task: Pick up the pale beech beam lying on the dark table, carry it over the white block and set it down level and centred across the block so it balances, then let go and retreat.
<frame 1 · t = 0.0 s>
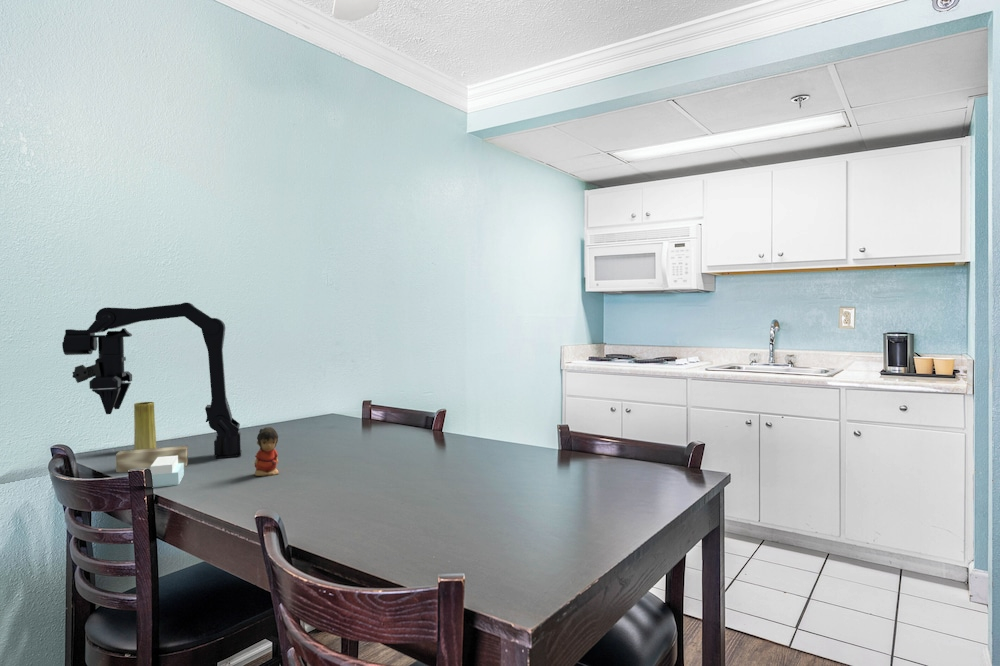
hand: (112, 411, 159), 15 cm above the table, fingers open, 9 cm apart
figurine: (266, 474, 150), on the table
beam: (153, 468, 157), on the table
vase: (145, 450, 178), on the table
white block: (165, 480, 144), on the table
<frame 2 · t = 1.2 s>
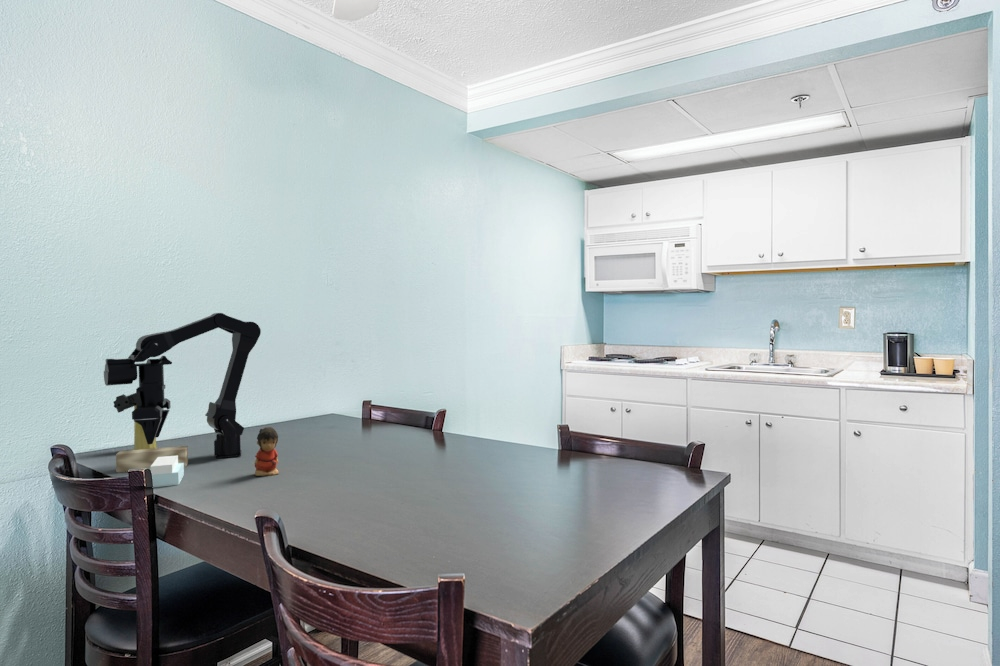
hand: (153, 440, 157), 7 cm above the table, fingers open, 9 cm apart
nothing on the table moved.
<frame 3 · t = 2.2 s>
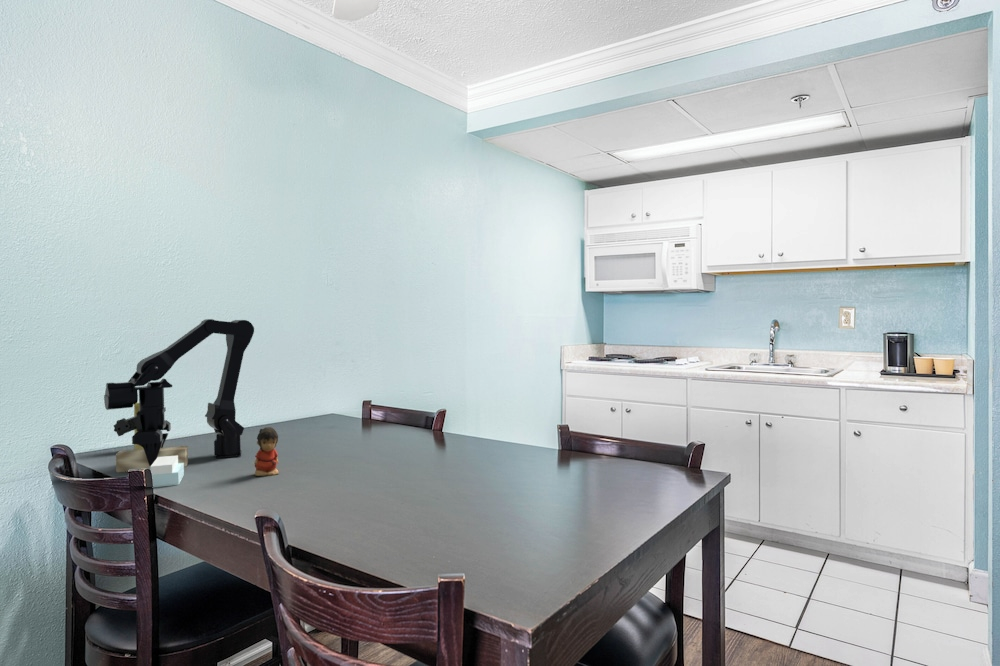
hand: (153, 463, 157), 1 cm above the table, fingers closed on beam, 4 cm apart
beam: (153, 468, 157), on the table, touching gripper
everything else where it was.
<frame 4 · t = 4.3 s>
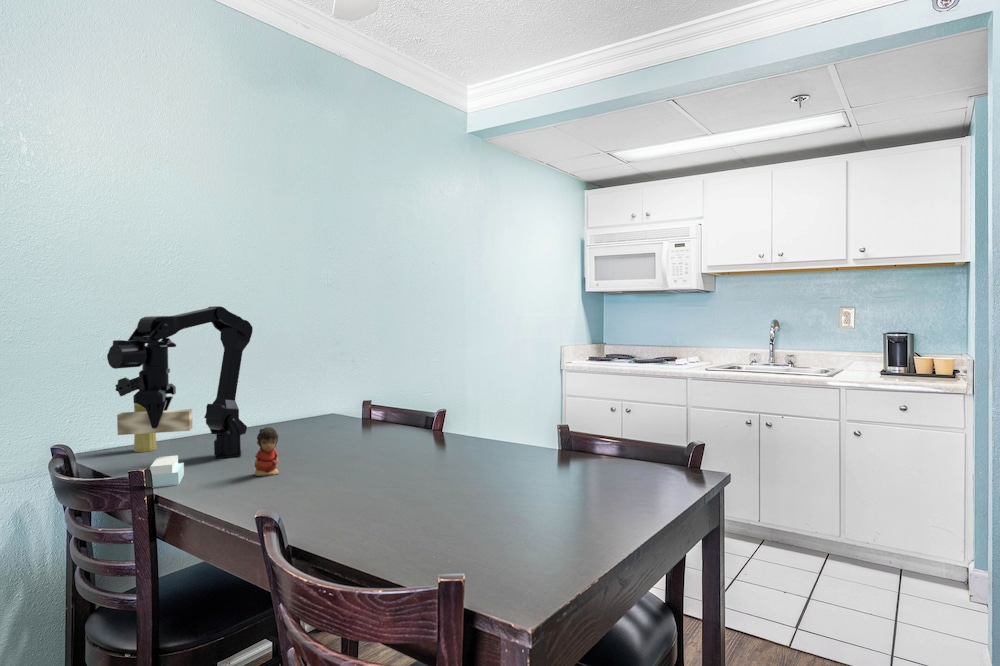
hand: (156, 426, 150), 12 cm above the table, fingers closed on beam, 4 cm apart
beam: (156, 431, 150), point 11 cm above the table, touching gripper
everything else where it was.
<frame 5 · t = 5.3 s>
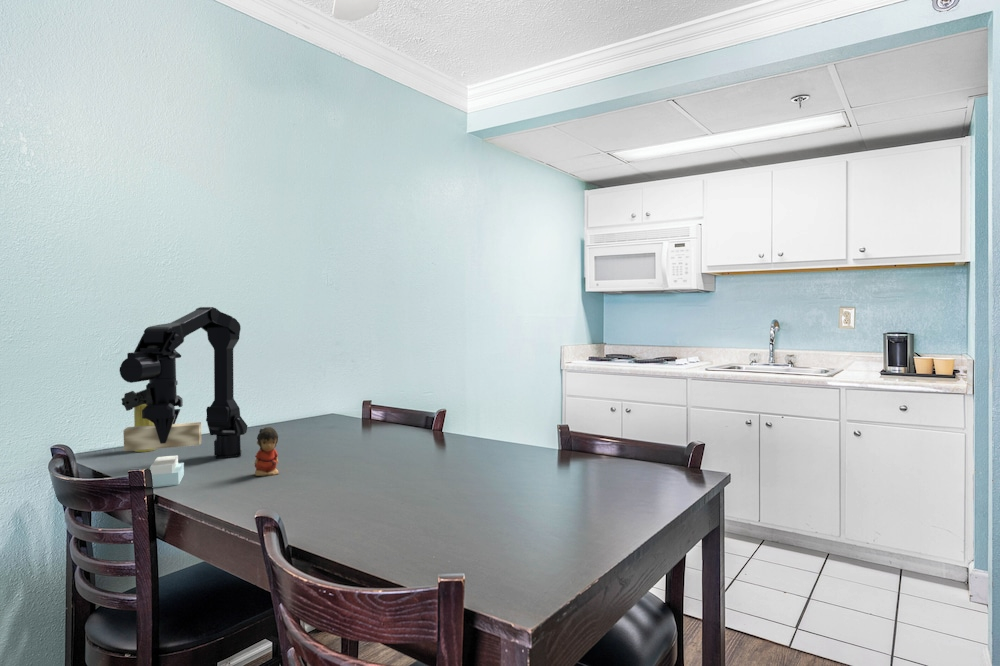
hand: (164, 441, 144), 10 cm above the table, fingers closed on beam, 4 cm apart
beam: (164, 446, 144), point 9 cm above the table, touching gripper
everything else where it was.
when the fingers open (7 cm above the table, at t = 6.0 s): beam stays where it is, resting on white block.
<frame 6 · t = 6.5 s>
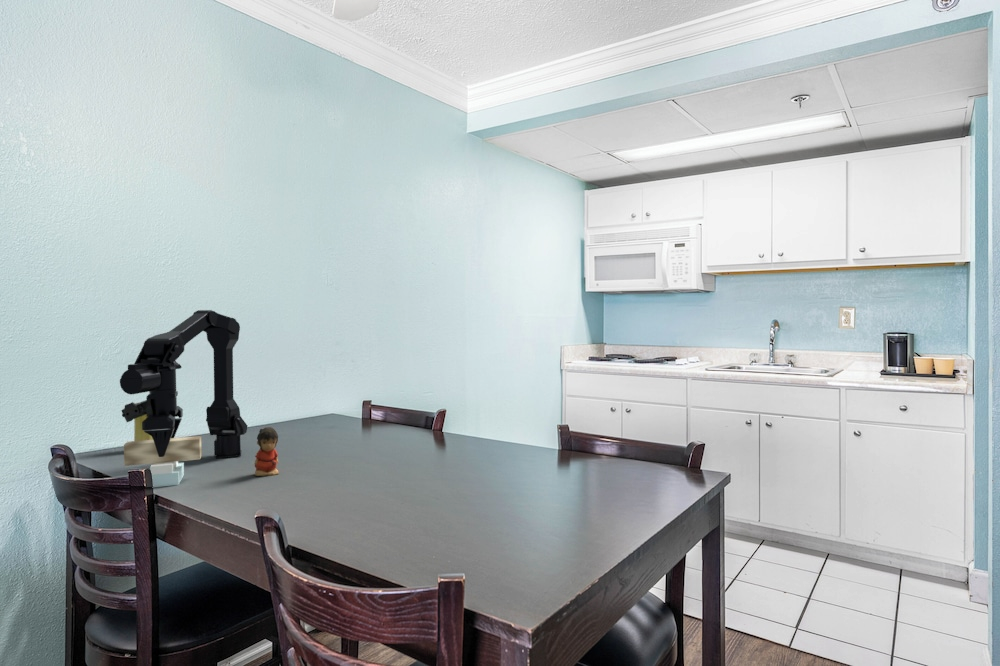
hand: (164, 452, 144), 7 cm above the table, fingers open, 9 cm apart
beam: (164, 460, 144), point 5 cm above the table, touching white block
everything else where it was.
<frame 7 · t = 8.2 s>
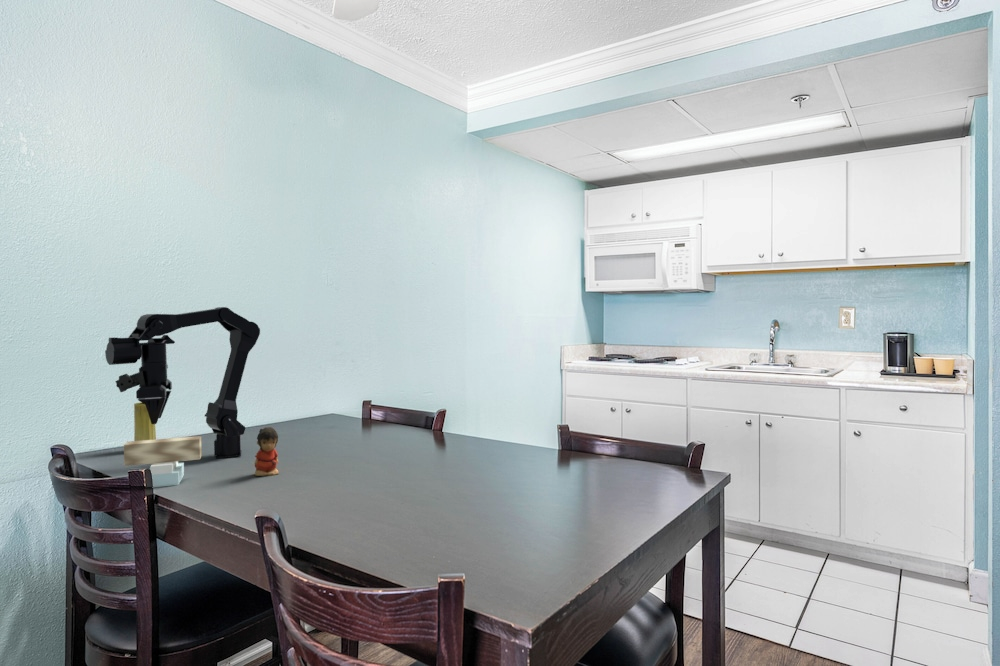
hand: (156, 421, 155), 13 cm above the table, fingers open, 9 cm apart
nothing on the table moved.
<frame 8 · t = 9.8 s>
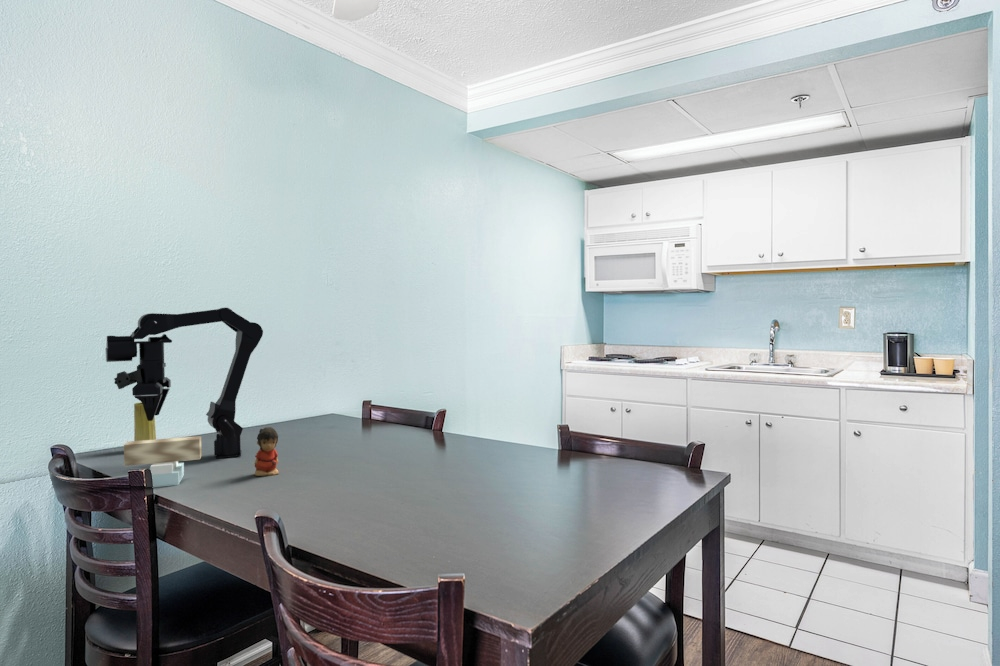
hand: (153, 417, 159), 13 cm above the table, fingers open, 9 cm apart
nothing on the table moved.
at the end: beam 0.1 cm off-centre on the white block, point 5.0 cm above the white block's base; beam tilted 0°; beam touching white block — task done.
